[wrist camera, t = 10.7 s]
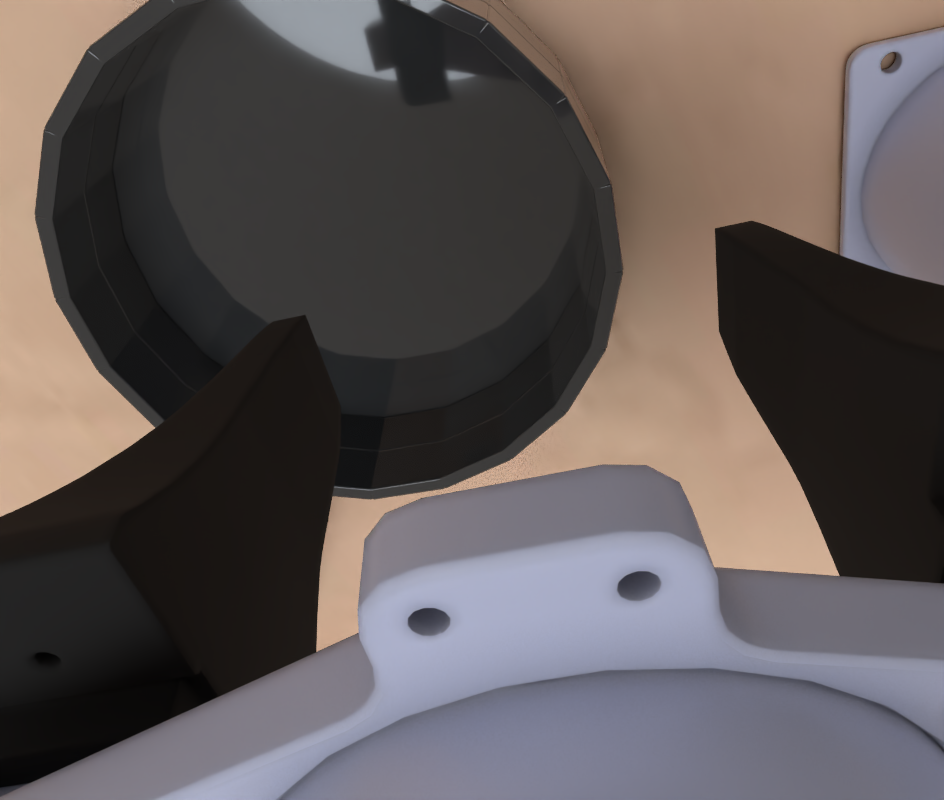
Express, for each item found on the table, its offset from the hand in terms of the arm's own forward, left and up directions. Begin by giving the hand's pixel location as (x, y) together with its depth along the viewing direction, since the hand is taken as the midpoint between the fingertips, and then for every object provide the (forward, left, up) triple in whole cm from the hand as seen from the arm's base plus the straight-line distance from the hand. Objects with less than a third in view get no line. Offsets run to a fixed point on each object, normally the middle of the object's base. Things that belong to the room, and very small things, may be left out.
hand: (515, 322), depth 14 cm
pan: (+5, +2, -10) cm, 12 cm away
